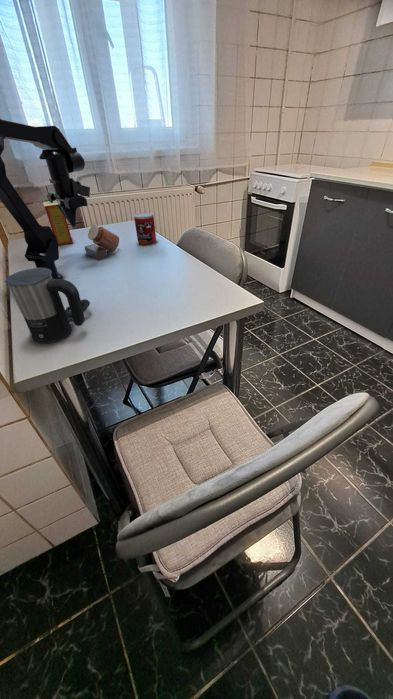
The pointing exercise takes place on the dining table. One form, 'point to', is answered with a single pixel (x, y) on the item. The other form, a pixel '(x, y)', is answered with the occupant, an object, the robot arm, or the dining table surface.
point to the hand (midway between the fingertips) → (73, 226)
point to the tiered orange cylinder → (103, 238)
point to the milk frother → (46, 303)
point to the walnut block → (96, 251)
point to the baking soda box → (58, 223)
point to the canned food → (145, 228)
